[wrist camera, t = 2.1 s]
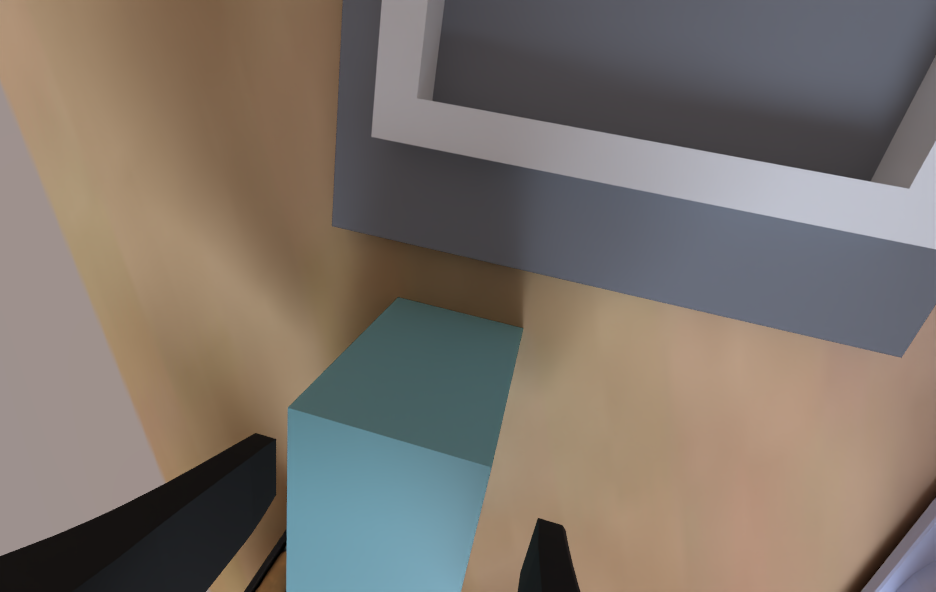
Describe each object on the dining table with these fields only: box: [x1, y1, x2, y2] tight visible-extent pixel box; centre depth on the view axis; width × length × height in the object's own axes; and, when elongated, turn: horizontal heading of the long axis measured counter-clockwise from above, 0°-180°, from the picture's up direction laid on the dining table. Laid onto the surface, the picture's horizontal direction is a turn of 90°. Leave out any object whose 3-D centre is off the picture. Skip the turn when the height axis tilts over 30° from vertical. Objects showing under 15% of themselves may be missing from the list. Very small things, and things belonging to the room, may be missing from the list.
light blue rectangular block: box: [286, 297, 523, 592], centre depth 12 cm, size 4×8×6 cm, turn 171°
